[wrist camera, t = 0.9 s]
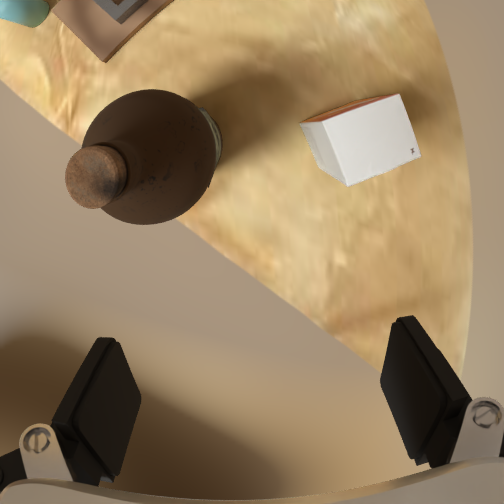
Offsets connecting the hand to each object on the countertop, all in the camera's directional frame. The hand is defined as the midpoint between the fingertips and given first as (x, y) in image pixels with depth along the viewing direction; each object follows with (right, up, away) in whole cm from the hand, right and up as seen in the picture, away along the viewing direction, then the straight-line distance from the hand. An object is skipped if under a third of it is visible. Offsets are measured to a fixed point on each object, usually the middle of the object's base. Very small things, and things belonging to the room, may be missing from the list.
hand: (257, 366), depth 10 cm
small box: (+10, +18, +27) cm, 34 cm away
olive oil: (-8, +17, +27) cm, 33 cm away
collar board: (-16, +39, +18) cm, 46 cm away
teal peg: (-31, +38, +18) cm, 53 cm away
